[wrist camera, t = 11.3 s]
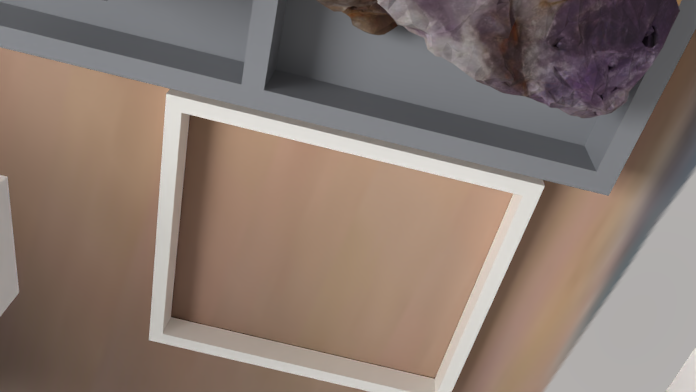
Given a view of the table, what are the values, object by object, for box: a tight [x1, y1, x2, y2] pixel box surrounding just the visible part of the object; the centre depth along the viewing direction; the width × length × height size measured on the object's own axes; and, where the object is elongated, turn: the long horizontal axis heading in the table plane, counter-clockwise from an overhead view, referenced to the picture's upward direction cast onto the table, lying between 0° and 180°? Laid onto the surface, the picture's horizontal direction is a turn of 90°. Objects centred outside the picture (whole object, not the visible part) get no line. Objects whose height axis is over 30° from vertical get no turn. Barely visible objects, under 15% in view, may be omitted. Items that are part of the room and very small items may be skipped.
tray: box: [149, 89, 545, 392], centre depth 36 cm, size 19×17×2 cm
